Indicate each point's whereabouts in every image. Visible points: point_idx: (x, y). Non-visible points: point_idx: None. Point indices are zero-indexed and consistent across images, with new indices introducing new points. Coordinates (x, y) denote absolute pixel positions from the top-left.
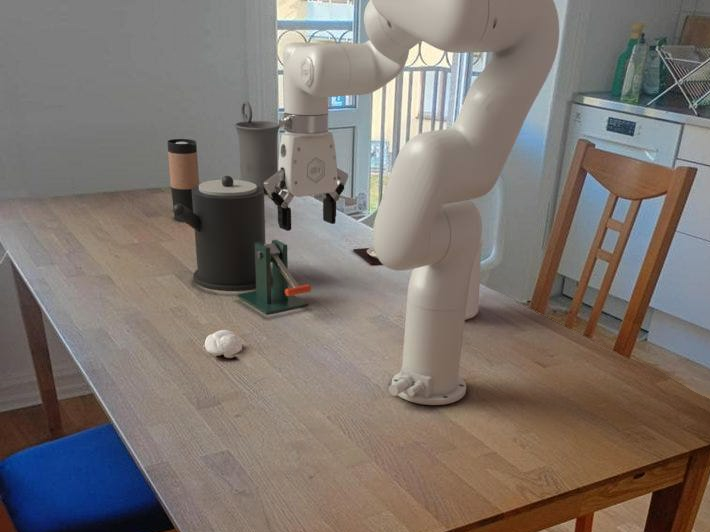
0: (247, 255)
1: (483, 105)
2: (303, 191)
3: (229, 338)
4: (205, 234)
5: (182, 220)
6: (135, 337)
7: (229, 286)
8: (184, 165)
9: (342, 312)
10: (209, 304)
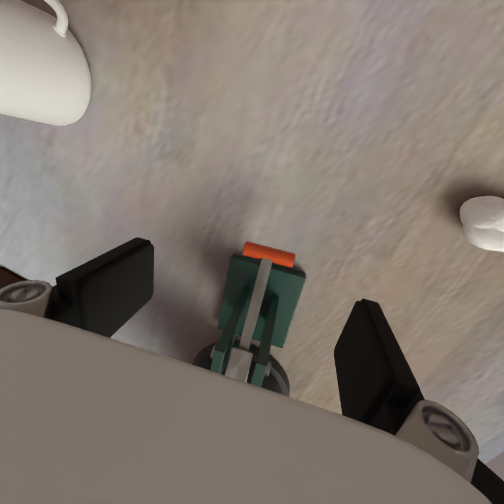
0: None
1: None
2: (353, 465)
3: (500, 218)
4: None
5: None
6: (496, 357)
7: (272, 369)
8: None
9: (199, 210)
10: (319, 358)
